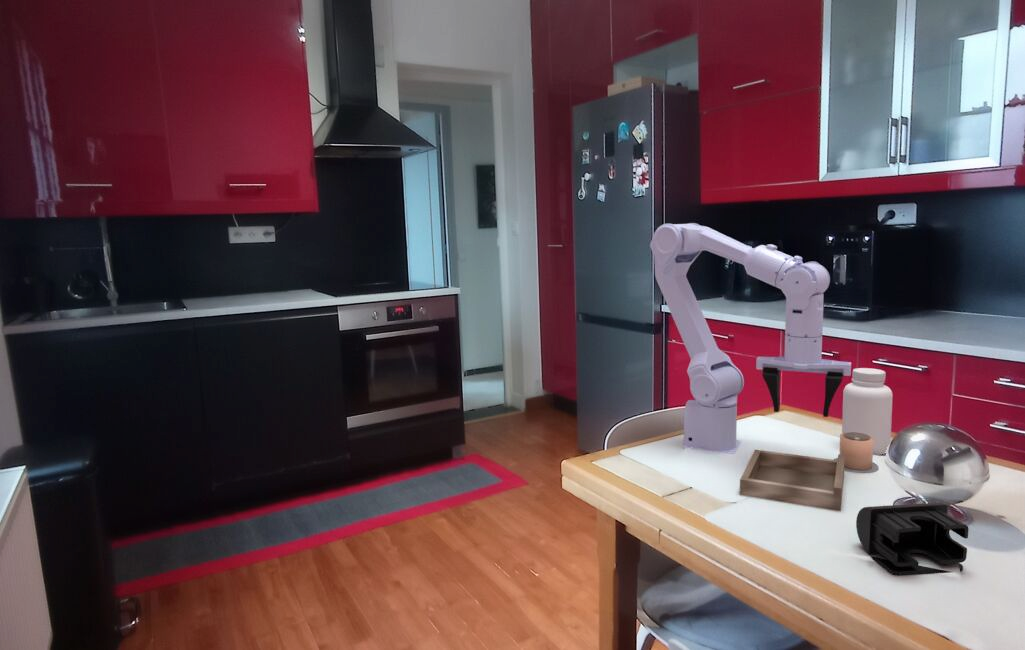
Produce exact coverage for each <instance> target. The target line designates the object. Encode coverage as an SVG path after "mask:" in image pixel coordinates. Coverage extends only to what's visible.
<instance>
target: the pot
mask: <svg viewBox="0 0 1025 650" xmlns="http://www.w3.org/2000/svg"><path fill="white" fill-rule="evenodd" d="M873 440H874V439H873V437H871V436H869V435H866V434H863V433H857V432H848V433H842V432H841V434H840V435H839V453H838V455H845V467H844V468H847V469H851V470H859V471H865V470H870V469H872V462H873V461H874V460H873V457H874V455H873Z"/></svg>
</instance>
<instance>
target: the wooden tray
mask: <svg viewBox="0 0 1025 650" xmlns="http://www.w3.org/2000/svg"><path fill="white" fill-rule="evenodd" d="M837 458H838V460H833V459H831V458H822V457H815V456H809V455H808V456H807V455H799V454H794V453H793V454H792V453H786V452H785V453H783V452H776V451H769V450H762V449H754V451H753V453H752V455H751V457H750V459H749V461H748V462H747V464H746V467H745V469H744V471H743V472H742V475H741V476H740V479H739V495H740V496H745V497H752V498H759V499H765V500H771V501H777V502H782V503H788V504H796V505H801V506H808V507H814V508H819V509H820V508H821V509H826V510H830V511H836V512H837V511H839V512H841V511H842V502H843V490H844V480H845V470H844V467H845V455H839V454H837Z"/></svg>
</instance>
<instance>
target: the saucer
mask: <svg viewBox="0 0 1025 650" xmlns="http://www.w3.org/2000/svg"><path fill="white" fill-rule="evenodd" d="M832 460H838V457H836V458H833V459H832ZM878 471H879V465H878V463H877V464H876V463H875V462H872V469H870V470H865V471H859V470H851V469H847V468H844V472H848V473H849V472H850V473H855V474H873V473H877V472H878Z"/></svg>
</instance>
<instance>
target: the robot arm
mask: <svg viewBox="0 0 1025 650" xmlns="http://www.w3.org/2000/svg"><path fill="white" fill-rule="evenodd" d="M649 247H650V250H651V252H652V255H653V258H654V260H653V261H654V276H655V280H656V282H657V284H658V286H659V289H660V291H661V294H662V296H663V298H664V301H665V302H666V305H667V307H668V310H669V312H670V314H671V317H672V319H673V321H674V324H675V326H676V328H677V331H678V333H679V335H680V337H681V340H682V342H683V344H684V346H685V350H686V351H687V353H688V356H689V358H690V362H689V364H688V367H687V370H686V373H687V375H688V377H689V389H690V393H691V395H692V396H693V399H688V400H687V401H686V403H685V406H684V411H683V412H684V413H683V414H684V415H683V446H682V448H683V450H684V449H691V450H692V449H693V450H701V451H708V452H714V453H723V454H730V455H734V454H736V452H737V450H738V448H739V447H740V445H741V443H742V441H741V440H737V428H738V427H737V417H738V414H737V413H738V404H737V403H738V395H739V394H740V393H741V392H742V390H743V389H744V387H745V386H744V384H745V379H744V375H743V373H742V371H741V370H740V369H739V368H738V367H737V366H736V365H735V364H734V362H732V359H731V358H730V356H729V355H728V354H726V353H725V352H723V351H722V350H721V349H719V347H718V345H717V342H716V340H715V338H714V336H713V333H712V332H711V330H710V327H709V324H708V322H707V320H706V318H705V315H704V314H703V311H702V309H701V307H700V304H699V302H698V300H697V298H696V295H695V293H694V291H693V289H692V286H691V284H690V283H689V279H688V278H687V273H688V271H689V269H690V266H691V265H692V264H693V263H694V261H695V260H696V259H697V258H698V256H699V255H700V254H701V253H702V252H703V251H707V252H709V253H712V254H714V255H717V256H719V257H722V258H724V259H727V260H730V261H732V262H736V263H738V264H740V265H743V266H744V269H745V271H746V274H747V275H748V276H751V277H752V278H755V279H757V280H759V281H762V282H764V283H766V284H768V285H770V286H772V287H775V288H777V289H779V290H781V292H782V293H783V295H784V296H785V303H786V304H785V328H784V331H785V332H784V333H785V334H784V356H758V357H757V358H756V359H755V360H756V363H755V364H756V365H755V367H756V370H758V371H759V370H761V371H762V373H761V375H762V378H763V381H764V382H765V384H766V386H767V389H768V390H769V391H768V392H769V394H770V397H771V401H772V404H773V405H772V406H773V412H775V413H779V411H780V406H781V401H780V400H781V398H780V397H781V395H780V388H781V387H780V385H781V371H788V372H803V373H813V374H815V373H816V374H826V375H825V379H824V380H825V382H824V383H825V384H824V386H825V387H824V388H825V389H824V394H825V395H824V402H823V403H824V404H823V411H822V412H823V413H822V414H823V415H822V417H823V418H824V417H825V418H828V417H829V414H830V413H829V412H830V407H831V404H832V403H833V402H832V401H833V400H834V399H833V398H834V396H835V395H836V392H837V390H838V389H839V388H840V386H841V384H842V382H843V380H844V379H843V378H844V377H845V376H847V377H850V376H851V375H852V373H851V372H852V362H850V361H849V362H848V361H839V360H832V359H823V358H822V352H823V350H822V349H823V328H824V327H823V326H824V325H823V323H824V293H825V292H826V291H827V290H828V288H829V286H830V283H831V276H830V273H829V271H828V270H827V268H826V267H825V266H823V265H821V264H820V263H819V262H817V261H808V262H805V263H804V262H803V257H802V256H800V255H794V257H793V256H792V255H789V254H786V253H784V252H783V251H779V250H777V249H778V246H777V245H774V244H772V243H771V244H765V245H764V244H760V245H758V246H756V247H754V248H753V247H752V246H748V245H747V244H745V243H742V242H740V241H738V240H737V239H734V238H733V237H730V236H727V235H725V234H723V233H721V232H719V231H717V230H715V229H713V228H711V227H708V226H705V225H700V224H699V223H695V222H688V223H677V224H676V223H674V224H673V223H663V224H662V225H660V226H658V227H657V229H656V230H655V231H654V233H653V236H652V239H651V241H650V243H649Z"/></svg>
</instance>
